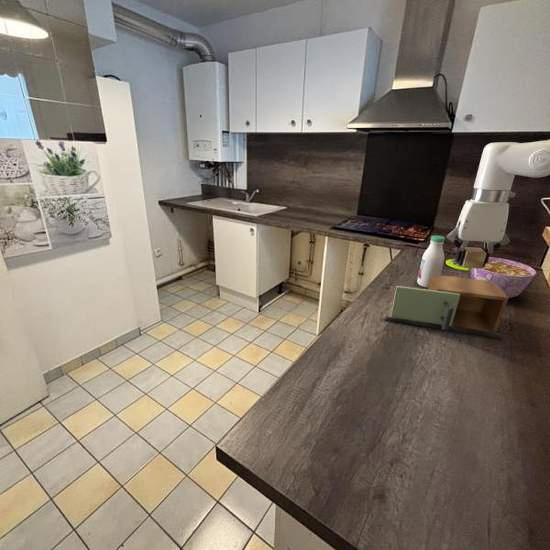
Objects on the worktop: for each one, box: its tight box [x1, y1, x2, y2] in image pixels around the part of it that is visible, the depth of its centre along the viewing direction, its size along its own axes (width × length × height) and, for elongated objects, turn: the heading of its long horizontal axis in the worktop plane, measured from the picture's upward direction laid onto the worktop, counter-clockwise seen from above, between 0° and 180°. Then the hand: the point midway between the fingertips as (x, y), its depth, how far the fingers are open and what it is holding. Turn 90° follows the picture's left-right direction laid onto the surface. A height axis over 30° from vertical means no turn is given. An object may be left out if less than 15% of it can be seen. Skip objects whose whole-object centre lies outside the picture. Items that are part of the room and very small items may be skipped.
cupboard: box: [385, 274, 510, 339], centre depth 92 cm, size 31×14×12 cm, turn 72°
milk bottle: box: [416, 235, 446, 289], centre depth 114 cm, size 8×8×20 cm
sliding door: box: [390, 285, 460, 331], centre depth 86 cm, size 17×7×11 cm, turn 72°
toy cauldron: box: [445, 243, 476, 272], centre depth 137 cm, size 15×15×11 cm
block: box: [462, 246, 487, 269], centre depth 79 cm, size 4×4×4 cm
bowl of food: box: [468, 256, 537, 299], centre depth 108 cm, size 20×20×12 cm
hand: (470, 264), depth 80 cm, fingers closed on block, 4 cm apart
